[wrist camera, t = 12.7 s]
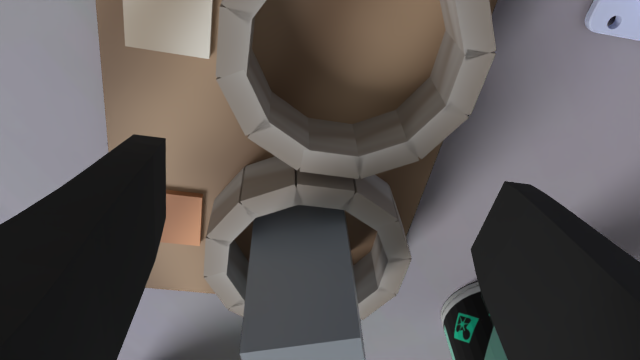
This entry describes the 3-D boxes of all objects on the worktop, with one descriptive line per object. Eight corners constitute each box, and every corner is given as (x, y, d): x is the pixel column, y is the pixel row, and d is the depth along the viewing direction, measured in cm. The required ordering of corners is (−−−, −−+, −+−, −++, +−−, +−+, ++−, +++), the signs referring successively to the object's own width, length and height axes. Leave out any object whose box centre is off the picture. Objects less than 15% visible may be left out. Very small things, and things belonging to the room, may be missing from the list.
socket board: (521, -95, 16) (568, -80, 13) (375, 294, 28) (385, 346, 25) (91, -189, 14) (41, -195, 12) (125, 271, 26) (104, 325, 23)
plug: (340, 188, 22) (360, 337, 15) (350, 250, 24) (371, 402, 18) (255, 201, 22) (239, 353, 16) (273, 261, 24) (265, 415, 18)
